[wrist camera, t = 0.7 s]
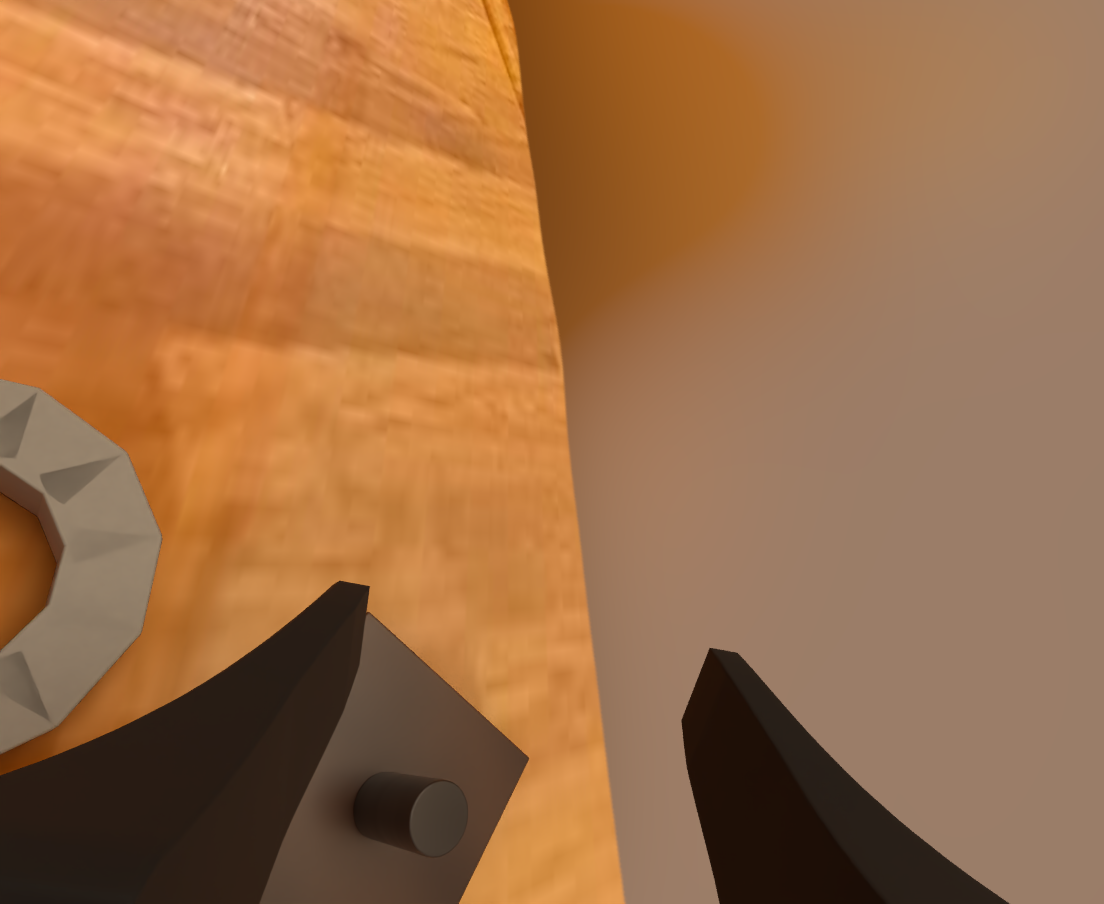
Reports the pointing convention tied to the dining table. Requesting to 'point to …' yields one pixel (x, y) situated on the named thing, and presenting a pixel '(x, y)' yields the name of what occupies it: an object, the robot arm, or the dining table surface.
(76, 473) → the tape roll
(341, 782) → the stand
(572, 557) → the dining table surface
